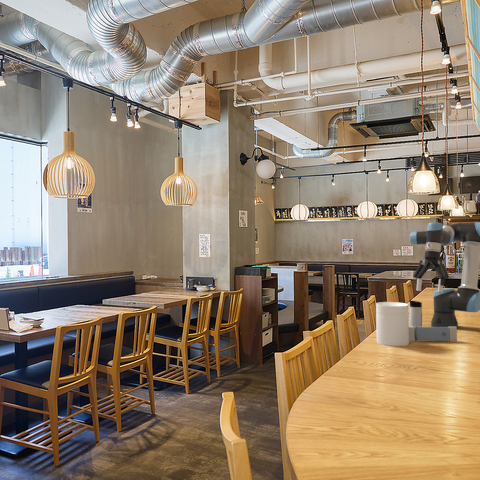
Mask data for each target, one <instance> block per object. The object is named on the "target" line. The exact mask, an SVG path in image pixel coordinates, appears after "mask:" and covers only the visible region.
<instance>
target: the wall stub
mask: <svg viewBox="0 0 480 480" xmlns="http://www.w3.org/2000/svg"><path fill="white" fill-rule="evenodd" d="M448 342H455V343H456V342H458V328H457V327H449V341H448Z"/></svg>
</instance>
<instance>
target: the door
mask: <svg viewBox="0 0 480 480" xmlns="http://www.w3.org/2000/svg"><path fill="white" fill-rule="evenodd" d="M416 341H418V342H419V341H420V342H421V341H422V342H423V341H424V342H426V341H427V342H429V341H430V342H437V341H438V342H443V341H444V342H450V341H449V327H433V326H422V327H416V326H415V327H414V342H416Z"/></svg>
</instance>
